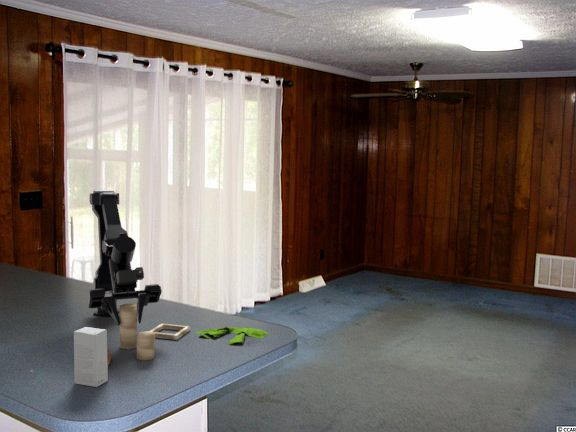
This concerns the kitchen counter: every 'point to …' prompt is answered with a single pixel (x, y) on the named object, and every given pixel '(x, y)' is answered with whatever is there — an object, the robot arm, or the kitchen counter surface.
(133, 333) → the tall beech pin
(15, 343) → the kitchen counter surface
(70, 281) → the kitchen counter surface
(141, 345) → the short beech pin
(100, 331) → the skincare box
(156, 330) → the birch collar
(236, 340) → the cloth
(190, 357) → the kitchen counter surface
